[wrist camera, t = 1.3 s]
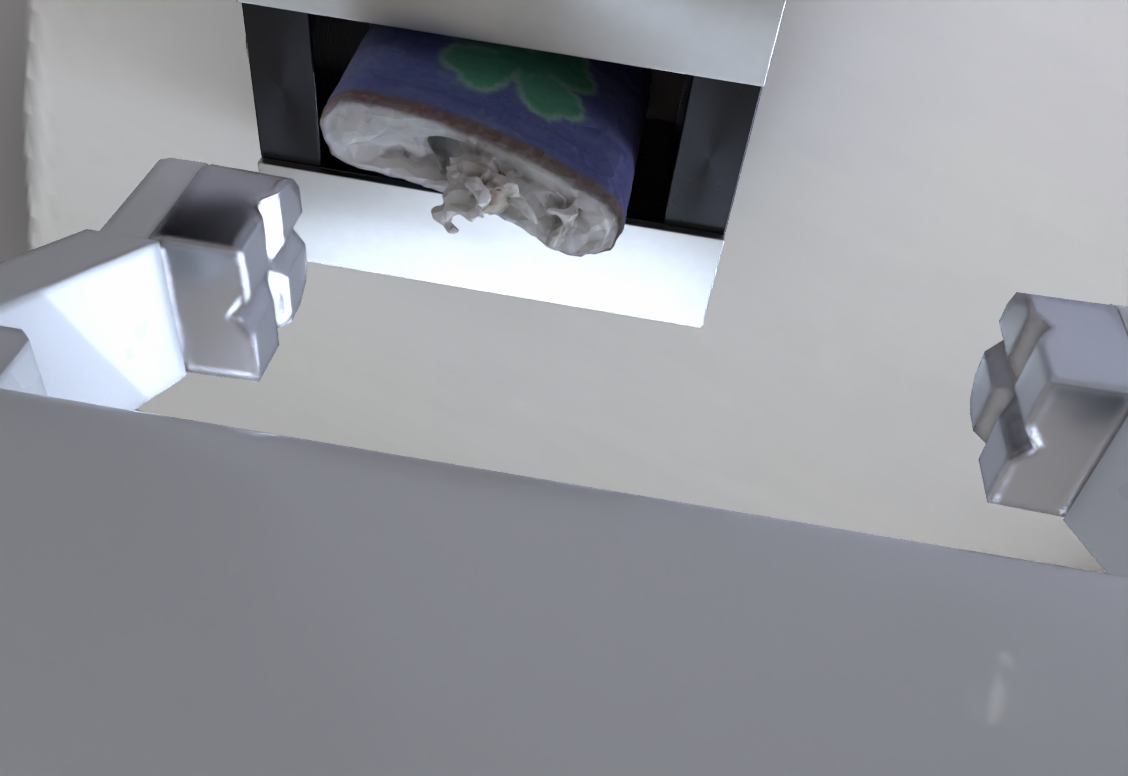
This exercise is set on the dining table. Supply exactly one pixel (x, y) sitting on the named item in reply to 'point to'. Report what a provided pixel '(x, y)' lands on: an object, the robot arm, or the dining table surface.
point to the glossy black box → (492, 245)
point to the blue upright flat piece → (496, 131)
